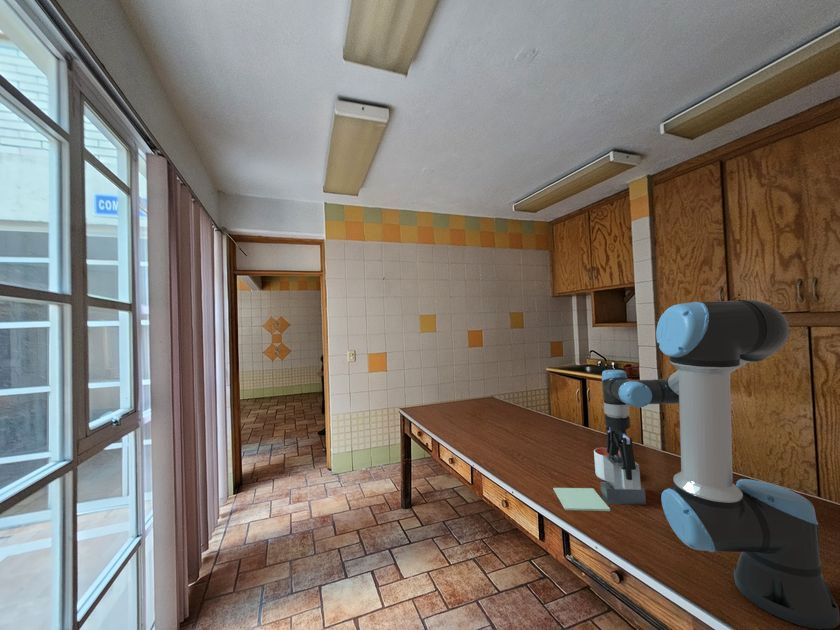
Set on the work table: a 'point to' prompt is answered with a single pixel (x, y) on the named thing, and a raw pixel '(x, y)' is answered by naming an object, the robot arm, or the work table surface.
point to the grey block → (622, 492)
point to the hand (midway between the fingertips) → (622, 482)
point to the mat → (580, 499)
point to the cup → (600, 462)
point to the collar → (619, 473)
